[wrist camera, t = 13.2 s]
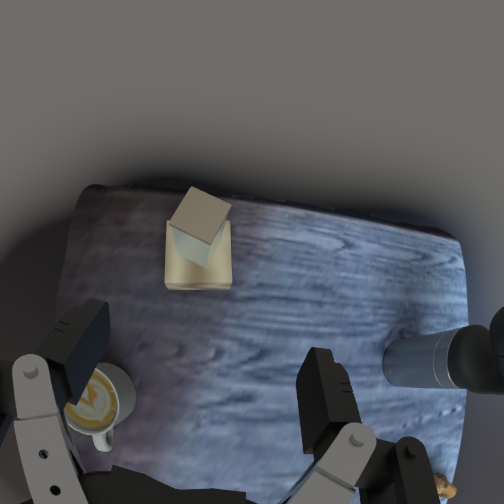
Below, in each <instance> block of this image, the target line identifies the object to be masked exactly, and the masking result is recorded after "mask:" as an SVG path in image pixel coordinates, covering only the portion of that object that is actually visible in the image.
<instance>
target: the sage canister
mask: <svg viewBox="0 0 504 504" xmlns="http://www.w3.org/2000/svg"><path fill="white" fill-rule="evenodd" d="M230 209H231V204H228V203H226V202H224V201H222V200H220V199H218V198H216V197H214V196H211V195H209V194H207V193H205V192H203V191H201V190H199V189H196V188H194V187H192V186H191V188H190V189H189V191H188V192H187V194H186V195H185V197H184V199H183V200H182V202H181V203H180V205H179V207H178V208H177V210H176V212H175V213H174V215H173V217H172V218H171V220H170V222H169V226H171V227H172V230H173V235H174V240H175V246H176V251H177V254H178V255H180V256H182V257H184V258H186V259H188V260H190V261H192V262H194V263H196V264H198V265H200V266H202V267H204V268H206V269H207V267H208V265H209V263H210V261H211V259H212V257H213V255H214V253H215V252H216V250H217V248H218V246H219V244H220V242H221V239H222V235H223V231H224V226H225V222H226V218H227V214H228V212H229V210H230Z"/></svg>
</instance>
